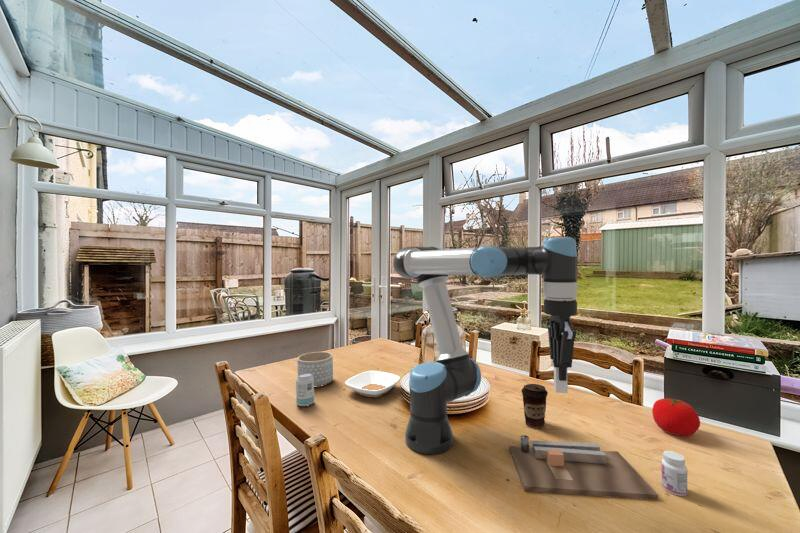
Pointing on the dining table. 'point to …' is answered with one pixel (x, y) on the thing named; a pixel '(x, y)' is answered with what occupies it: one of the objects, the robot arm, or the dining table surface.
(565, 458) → the bar
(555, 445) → the bar
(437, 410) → the robot arm
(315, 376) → the planter
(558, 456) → the block
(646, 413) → the dining table surface
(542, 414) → the coffee cup
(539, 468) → the board
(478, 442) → the dining table surface
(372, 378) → the bowl
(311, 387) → the beverage can
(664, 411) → the tomato
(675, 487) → the pill bottle
